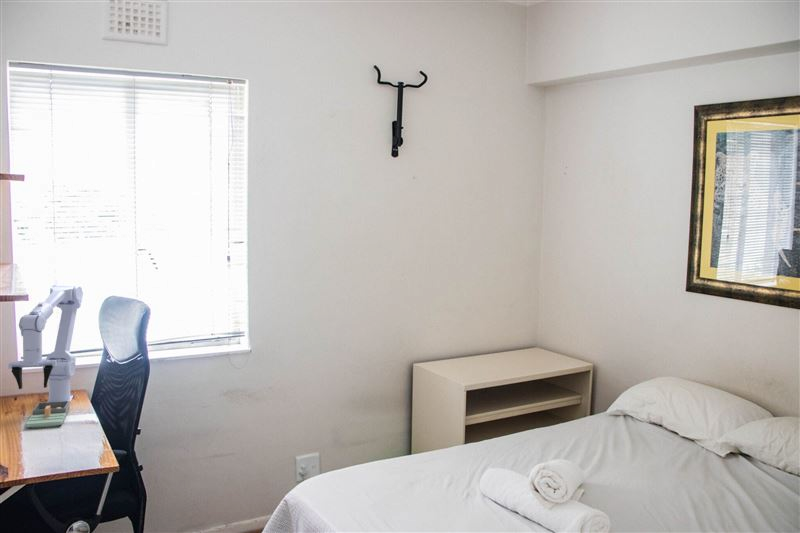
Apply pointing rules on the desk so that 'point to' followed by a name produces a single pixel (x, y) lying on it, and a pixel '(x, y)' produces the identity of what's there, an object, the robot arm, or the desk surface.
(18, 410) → the desk surface
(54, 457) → the desk surface
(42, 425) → the lid
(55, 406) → the tub
